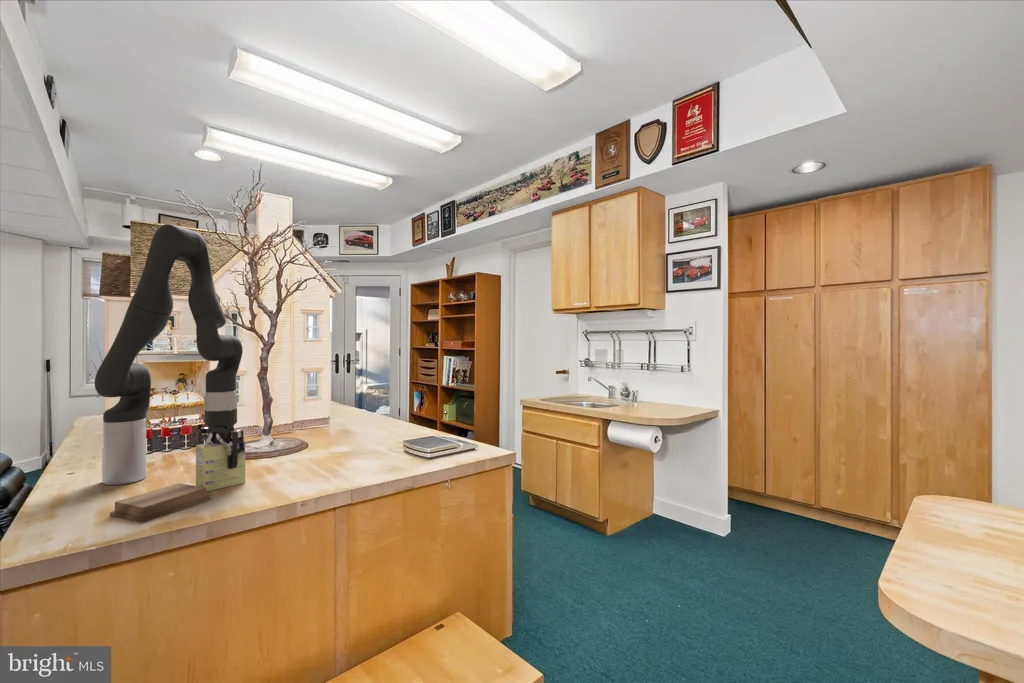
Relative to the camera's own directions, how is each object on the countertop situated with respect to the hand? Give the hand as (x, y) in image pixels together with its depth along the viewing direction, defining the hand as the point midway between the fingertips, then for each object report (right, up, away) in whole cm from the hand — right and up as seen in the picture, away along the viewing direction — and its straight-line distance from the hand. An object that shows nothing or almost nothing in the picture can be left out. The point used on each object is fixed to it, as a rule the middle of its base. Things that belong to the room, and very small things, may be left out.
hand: (221, 466), depth 121 cm
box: (0, -5, 0) cm, 5 cm away
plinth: (-4, -5, -16) cm, 17 cm away
